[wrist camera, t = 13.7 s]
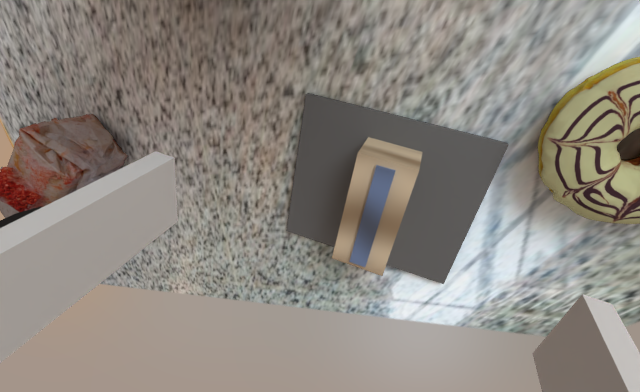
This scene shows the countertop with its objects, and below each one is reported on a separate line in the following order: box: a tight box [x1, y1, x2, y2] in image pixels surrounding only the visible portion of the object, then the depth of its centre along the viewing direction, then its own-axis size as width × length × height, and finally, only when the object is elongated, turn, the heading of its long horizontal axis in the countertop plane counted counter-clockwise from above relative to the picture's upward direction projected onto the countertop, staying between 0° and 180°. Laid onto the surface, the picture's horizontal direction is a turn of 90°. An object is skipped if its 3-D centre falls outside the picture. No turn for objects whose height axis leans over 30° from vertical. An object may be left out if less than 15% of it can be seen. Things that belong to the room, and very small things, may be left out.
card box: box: [332, 137, 422, 276], centre depth 28 cm, size 10×4×4 cm, turn 170°
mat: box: [287, 93, 508, 284], centre depth 30 cm, size 16×14×1 cm
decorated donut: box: [538, 57, 640, 224], centre depth 22 cm, size 10×11×4 cm
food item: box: [0, 114, 128, 218], centre depth 36 cm, size 14×8×10 cm, turn 136°
